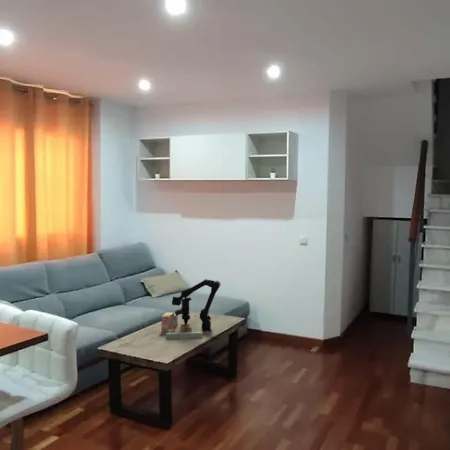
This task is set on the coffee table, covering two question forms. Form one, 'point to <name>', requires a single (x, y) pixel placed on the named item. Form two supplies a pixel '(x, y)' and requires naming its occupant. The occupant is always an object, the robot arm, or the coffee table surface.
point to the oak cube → (171, 331)
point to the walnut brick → (186, 328)
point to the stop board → (184, 335)
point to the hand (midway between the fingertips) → (185, 325)
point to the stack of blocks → (168, 321)
